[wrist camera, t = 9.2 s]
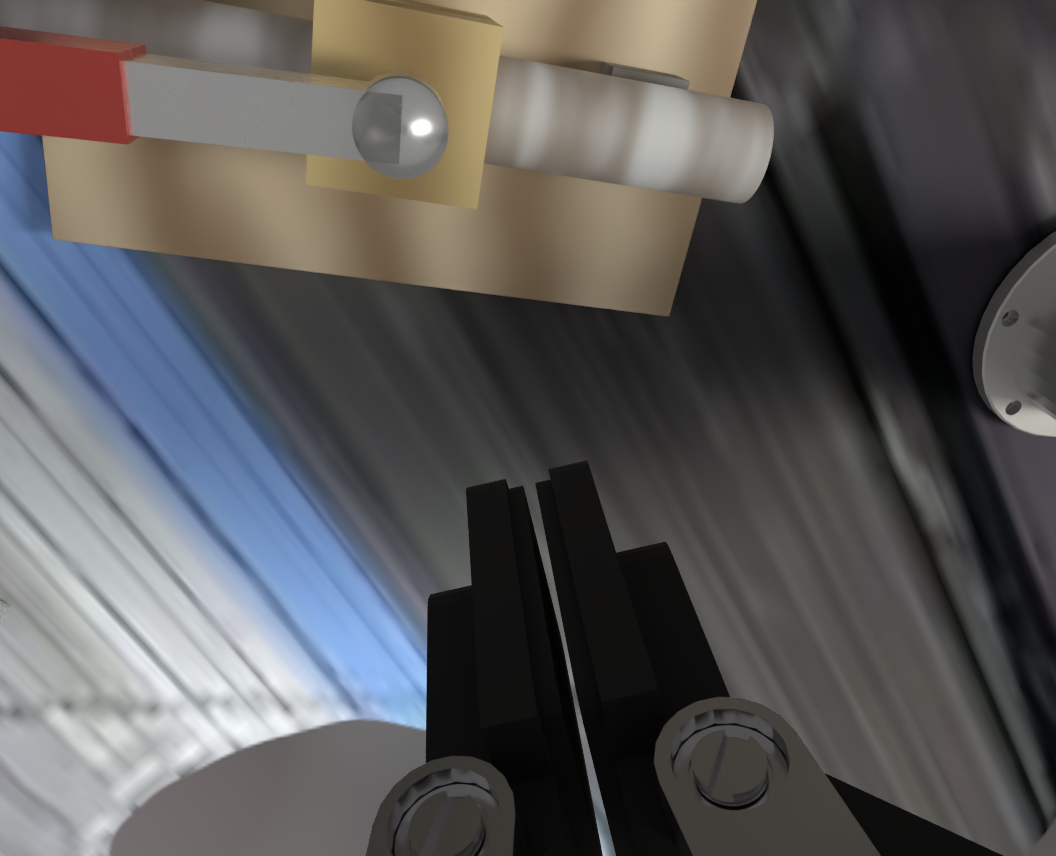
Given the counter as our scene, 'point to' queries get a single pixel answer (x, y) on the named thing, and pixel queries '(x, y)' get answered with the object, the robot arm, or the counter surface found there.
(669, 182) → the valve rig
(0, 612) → the skincare box
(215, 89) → the valve lever
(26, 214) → the counter surface
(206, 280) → the counter surface
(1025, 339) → the robot arm
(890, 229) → the counter surface
